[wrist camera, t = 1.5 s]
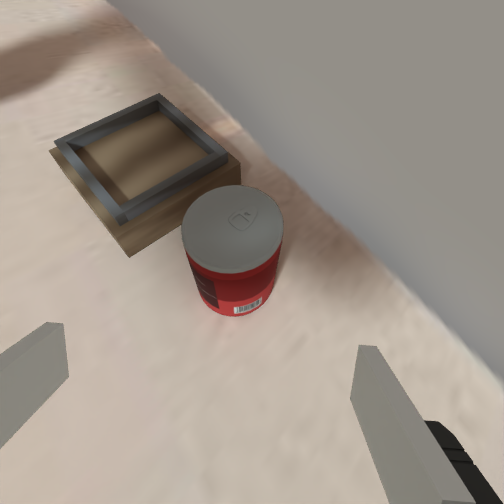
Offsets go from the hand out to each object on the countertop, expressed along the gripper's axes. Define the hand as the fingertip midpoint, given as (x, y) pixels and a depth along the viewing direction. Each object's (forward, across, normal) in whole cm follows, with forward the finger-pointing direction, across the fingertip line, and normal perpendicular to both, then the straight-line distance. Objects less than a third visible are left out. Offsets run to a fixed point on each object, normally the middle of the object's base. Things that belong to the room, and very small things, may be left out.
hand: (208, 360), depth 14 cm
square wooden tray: (+28, -12, +6) cm, 31 cm away
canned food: (+19, 0, -4) cm, 19 cm away
